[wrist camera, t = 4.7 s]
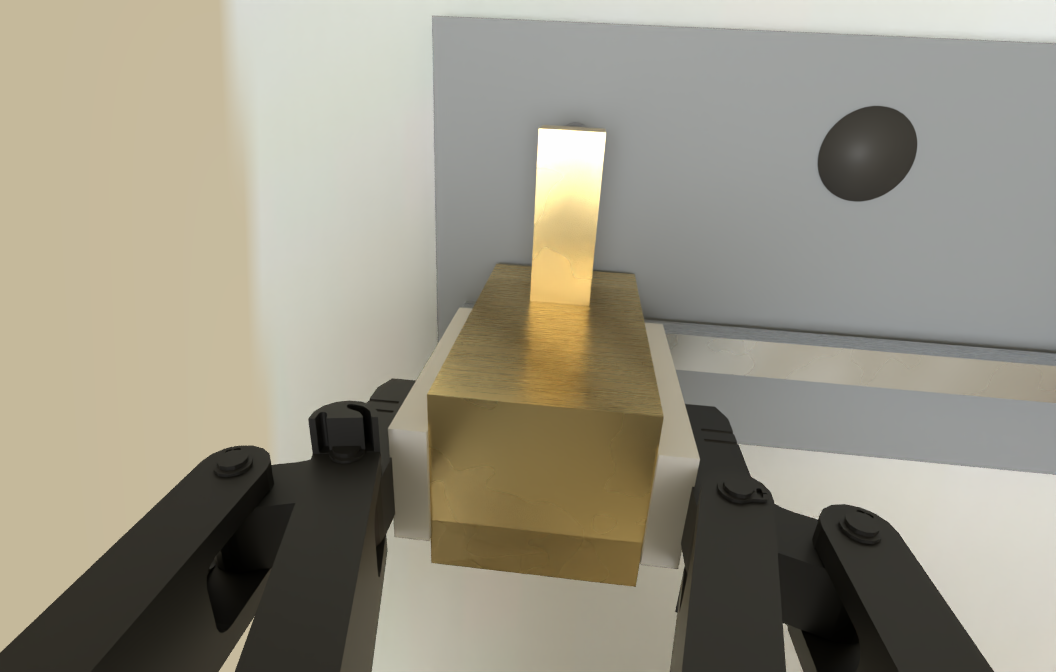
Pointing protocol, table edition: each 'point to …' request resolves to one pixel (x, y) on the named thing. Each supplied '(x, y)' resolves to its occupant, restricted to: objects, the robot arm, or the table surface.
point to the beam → (861, 361)
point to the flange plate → (780, 205)
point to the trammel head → (548, 399)
